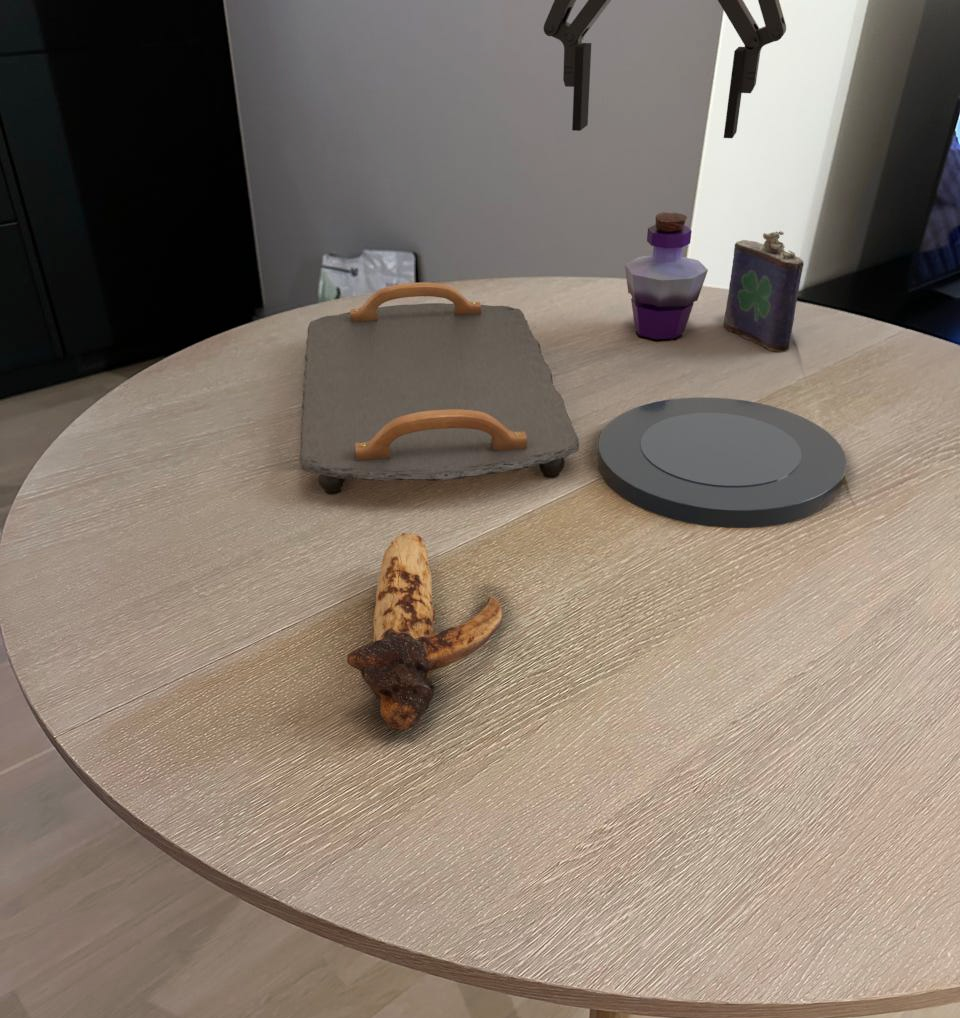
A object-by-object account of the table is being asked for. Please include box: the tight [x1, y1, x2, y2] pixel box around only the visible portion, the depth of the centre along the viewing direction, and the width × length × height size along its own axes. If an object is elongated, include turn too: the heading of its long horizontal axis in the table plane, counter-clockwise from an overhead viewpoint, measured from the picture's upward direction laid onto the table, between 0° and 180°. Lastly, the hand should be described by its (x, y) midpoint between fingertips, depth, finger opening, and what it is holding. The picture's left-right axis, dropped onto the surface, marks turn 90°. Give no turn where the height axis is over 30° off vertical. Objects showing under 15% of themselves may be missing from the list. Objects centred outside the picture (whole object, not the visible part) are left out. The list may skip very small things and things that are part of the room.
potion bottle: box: [624, 211, 709, 343], centre depth 100 cm, size 9×9×12 cm
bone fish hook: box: [346, 532, 504, 730], centre depth 61 cm, size 9×5×18 cm
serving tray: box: [299, 281, 580, 496], centre depth 89 cm, size 39×23×6 cm, turn 7°
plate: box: [596, 396, 847, 529], centre depth 80 cm, size 20×20×2 cm
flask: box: [723, 230, 805, 353], centre depth 99 cm, size 9×3×11 cm, turn 28°
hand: (653, 131), depth 86 cm, fingers open, 13 cm apart
